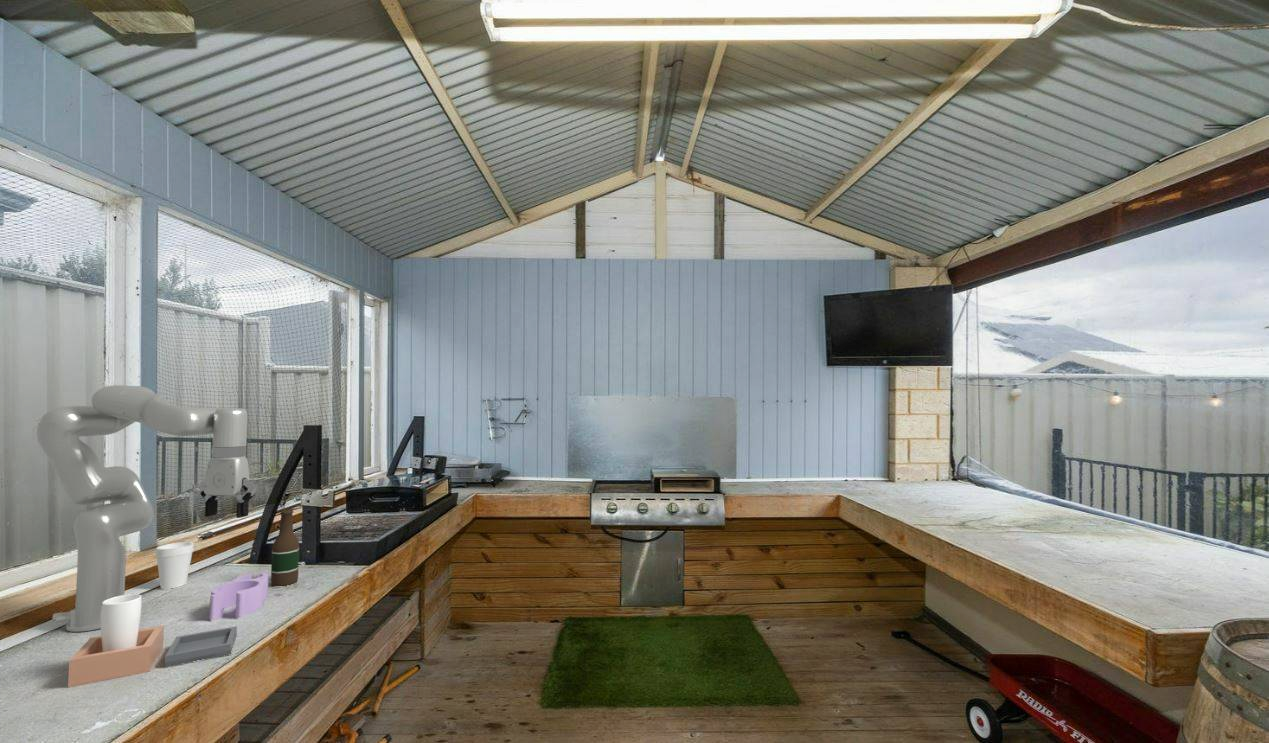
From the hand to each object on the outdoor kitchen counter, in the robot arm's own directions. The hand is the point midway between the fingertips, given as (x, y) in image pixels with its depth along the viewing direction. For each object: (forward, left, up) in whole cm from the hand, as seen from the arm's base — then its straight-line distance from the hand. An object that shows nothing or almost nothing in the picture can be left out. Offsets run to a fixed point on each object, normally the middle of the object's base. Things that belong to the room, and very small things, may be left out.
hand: (226, 516), depth 149 cm
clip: (+3, +12, -29) cm, 31 cm away
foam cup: (-18, +46, -29) cm, 57 cm away
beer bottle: (+13, +30, -29) cm, 43 cm away
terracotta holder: (-17, -18, -29) cm, 38 cm away
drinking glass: (-17, -18, -29) cm, 38 cm away
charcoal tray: (-2, -18, -29) cm, 34 cm away
